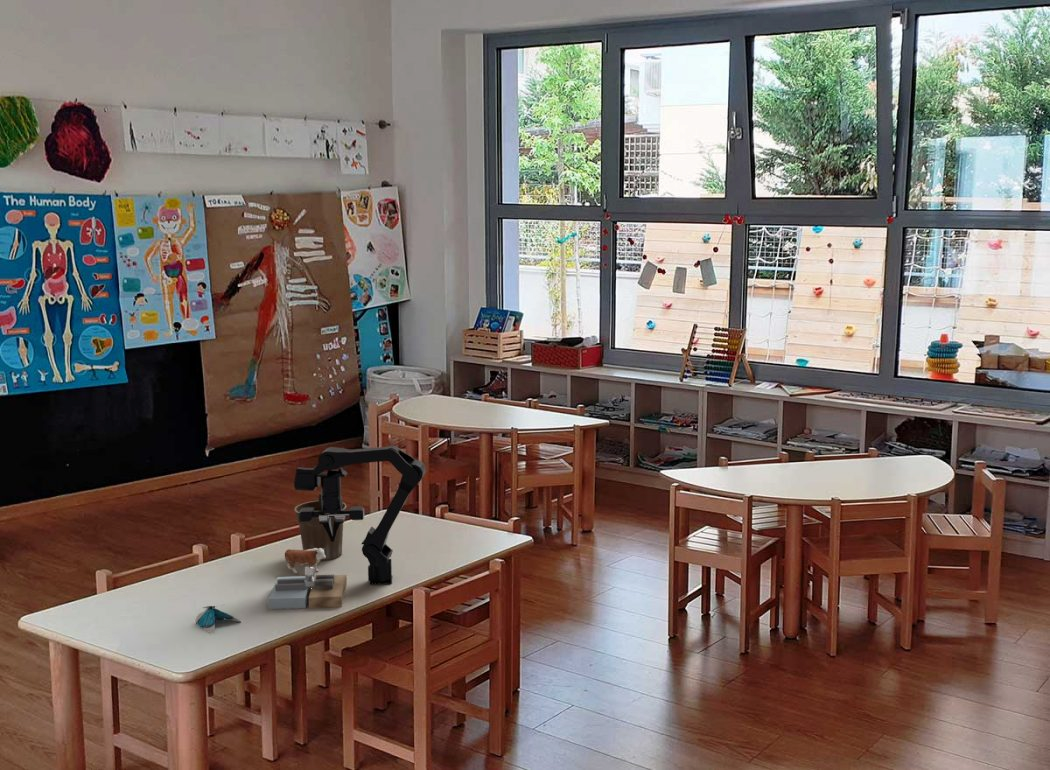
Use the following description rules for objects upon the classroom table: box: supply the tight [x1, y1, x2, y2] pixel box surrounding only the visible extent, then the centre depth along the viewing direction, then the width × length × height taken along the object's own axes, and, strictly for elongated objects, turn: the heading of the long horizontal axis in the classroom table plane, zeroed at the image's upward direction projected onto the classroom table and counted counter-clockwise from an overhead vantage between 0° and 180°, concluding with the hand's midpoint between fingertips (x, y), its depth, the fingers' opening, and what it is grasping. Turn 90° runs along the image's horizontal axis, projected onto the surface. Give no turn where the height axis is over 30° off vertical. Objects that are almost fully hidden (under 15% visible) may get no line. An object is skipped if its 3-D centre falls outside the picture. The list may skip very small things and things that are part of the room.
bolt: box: [304, 565, 333, 587], centre depth 309 cm, size 8×2×6 cm, turn 95°
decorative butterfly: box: [194, 604, 242, 635], centre depth 290 cm, size 10×6×10 cm
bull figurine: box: [284, 548, 326, 574], centre depth 330 cm, size 4×13×8 cm, turn 79°
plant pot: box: [293, 499, 347, 562], centre depth 345 cm, size 16×16×16 cm
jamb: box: [308, 574, 348, 609], centre depth 310 cm, size 9×18×5 cm, turn 5°
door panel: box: [267, 575, 312, 610], centre depth 309 cm, size 10×18×5 cm, turn 5°
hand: (332, 541), depth 321 cm, fingers closed
